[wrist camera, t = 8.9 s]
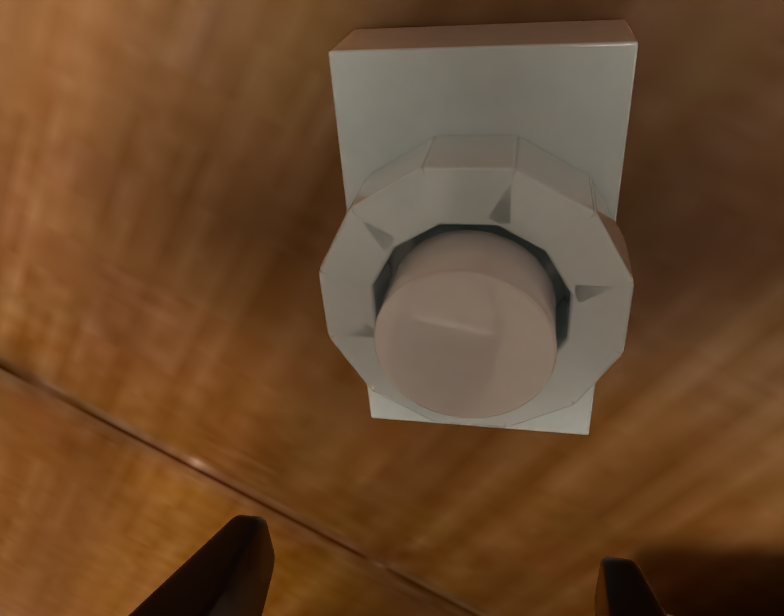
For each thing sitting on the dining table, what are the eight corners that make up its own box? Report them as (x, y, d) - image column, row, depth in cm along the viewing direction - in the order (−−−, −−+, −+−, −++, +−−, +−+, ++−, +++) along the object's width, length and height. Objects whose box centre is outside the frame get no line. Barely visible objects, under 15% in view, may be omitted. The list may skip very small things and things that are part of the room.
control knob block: (593, 383, 19) (603, 488, 16) (377, 369, 21) (346, 464, 17) (639, 18, 14) (668, 65, 11) (342, 29, 15) (286, 74, 12)
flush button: (550, 372, 15) (551, 426, 14) (395, 363, 16) (379, 413, 14) (561, 230, 13) (563, 275, 12) (383, 226, 14) (364, 268, 12)
